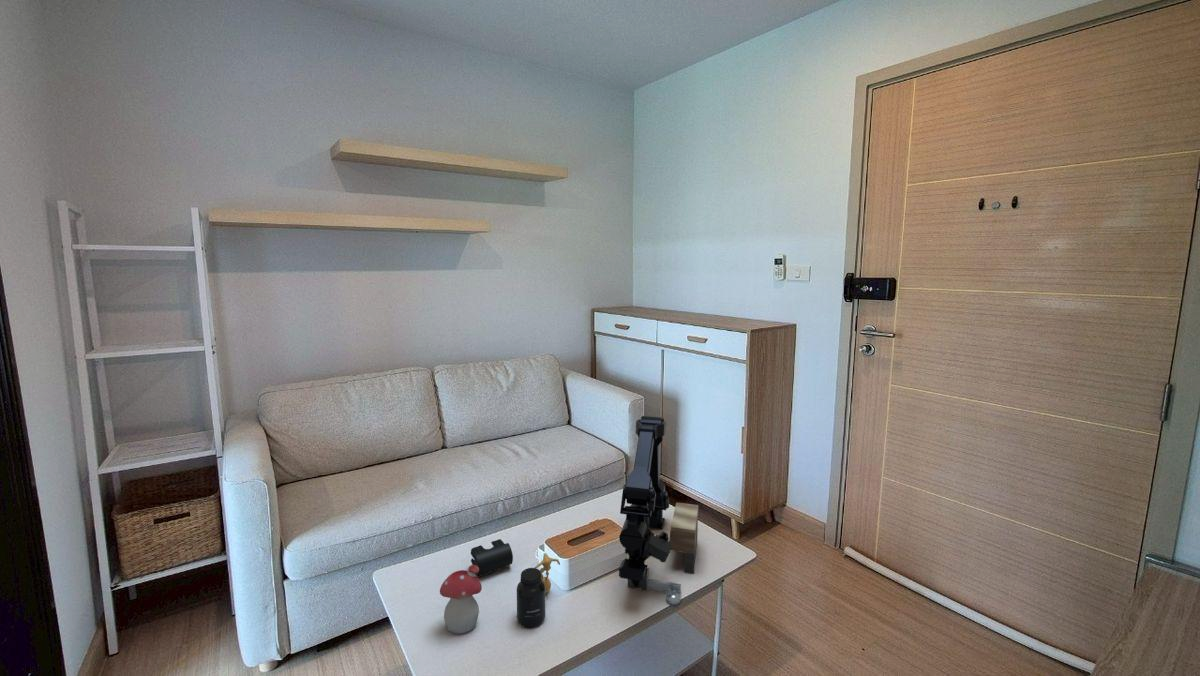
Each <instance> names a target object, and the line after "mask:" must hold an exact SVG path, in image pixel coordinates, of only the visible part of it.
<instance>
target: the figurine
mask: <svg viewBox="0 0 1200 676" xmlns="http://www.w3.org/2000/svg"><path fill="white" fill-rule="evenodd" d="M542 558H543V559H542V560H541V561H540V562H539V563H538V564H537V565H536V566H534V567H533V568H536V569H538V568H539V567H541V566H543V567H541V568H540V569H539V570H540V572H541V580H542V581H543V582H544V584H545V594H547V593H549V591H550V590H551V587H552V582H551V580H550V578H549V576H550V574H549V571H550V570H551V567H552V566H551V564H552V562H556V564H557V565H559V566H561V563H560V560H559V559H557V558H552V557H549V555H548V554H547V552H545V553H543V557H542ZM545 571H546V573H545V575H546V576H544V574H543V573H544V572H545Z"/></svg>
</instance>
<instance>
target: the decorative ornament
mask: <svg viewBox="0 0 1200 676" xmlns="http://www.w3.org/2000/svg"><path fill="white" fill-rule="evenodd" d="M478 572H479V567H478V566H476V565H473V564H471V565H470V566H468V570H466V569H465V570H464V569H461V570H456V571H454V572H452V573H451V574H449V575H448V576H447V578H446V579H444V581H443V582H442V584H441V585H440V588H439V594H440V596H441V597H444V598H449V600H448V602H447V604H446V605H445V608H444V612H443V618H444V623H445V626H446V629H447V630H448V631H449V632H451V633H453V634H466V633H468V632H470V631H473V630H474V628H476V625H477V622H478V619H479V614H480V610H479V604H478V601H477V600H476V598H475V597H474V596H473V595H477V594H480V593H481V592H482V588H483V586H482V583H481V581H480V579H479V578H478V577H477V576H476V575H475V574H477V573H478Z"/></svg>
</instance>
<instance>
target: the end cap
mask: <svg viewBox="0 0 1200 676" xmlns="http://www.w3.org/2000/svg"><path fill="white" fill-rule="evenodd" d="M490 543H491V545H492V547H491V548H484V547H483V546H482V544H481V545H478V546H474V547H473V548H471V549H470V555H471V557H472V558H470V559H471V560H470V562H471V565H476V566H478V567H479V572H478V573H477V574H475V576H476V577H477V578H478V577H481V576H484V575H487V574H489V573H493V572H495V571H497V570H501V569H503V568H506V567H508V566H510V565H512V564H513V561H514V555H513V551H512V547H511V545H510V543H509V542H507V543H505V542H504V541H503V540H502V539H500V538H499V539H495V540H493V541H491V542H490Z"/></svg>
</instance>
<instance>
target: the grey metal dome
mask: <svg viewBox="0 0 1200 676" xmlns="http://www.w3.org/2000/svg"><path fill="white" fill-rule="evenodd" d="M681 597H682V596H681V593H680V592H679V591H677V590H668V591H667V592H665V601H666V603H667V604H668V605H669V606H672V607H678V606H679V605H680V604H681V600H682V599H681Z"/></svg>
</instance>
